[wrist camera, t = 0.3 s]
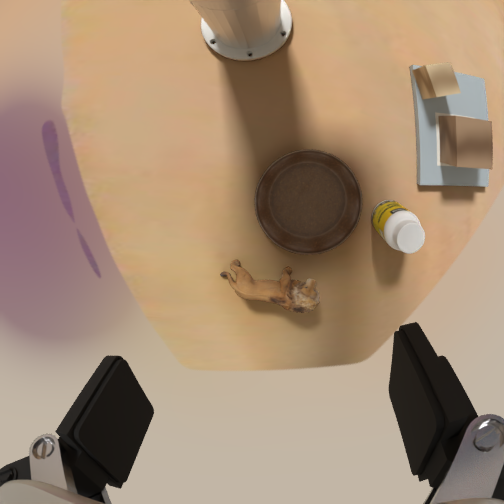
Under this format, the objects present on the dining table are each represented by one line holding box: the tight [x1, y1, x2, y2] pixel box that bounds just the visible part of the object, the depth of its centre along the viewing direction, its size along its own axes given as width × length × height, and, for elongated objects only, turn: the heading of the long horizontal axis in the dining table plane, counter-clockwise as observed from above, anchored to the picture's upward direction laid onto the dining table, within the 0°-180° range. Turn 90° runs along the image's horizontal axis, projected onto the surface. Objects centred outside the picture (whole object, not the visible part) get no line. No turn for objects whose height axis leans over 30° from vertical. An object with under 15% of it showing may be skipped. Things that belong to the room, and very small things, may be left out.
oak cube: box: [412, 62, 461, 100], centre depth 30 cm, size 4×4×4 cm
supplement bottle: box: [372, 200, 425, 254], centre depth 37 cm, size 5×5×10 cm
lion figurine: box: [220, 260, 320, 313], centre depth 43 cm, size 15×5×9 cm, turn 91°
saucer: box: [255, 149, 362, 255], centre depth 41 cm, size 15×15×3 cm
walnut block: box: [438, 116, 493, 169], centre depth 33 cm, size 7×7×5 cm
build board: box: [410, 65, 489, 187], centre depth 35 cm, size 18×14×1 cm
